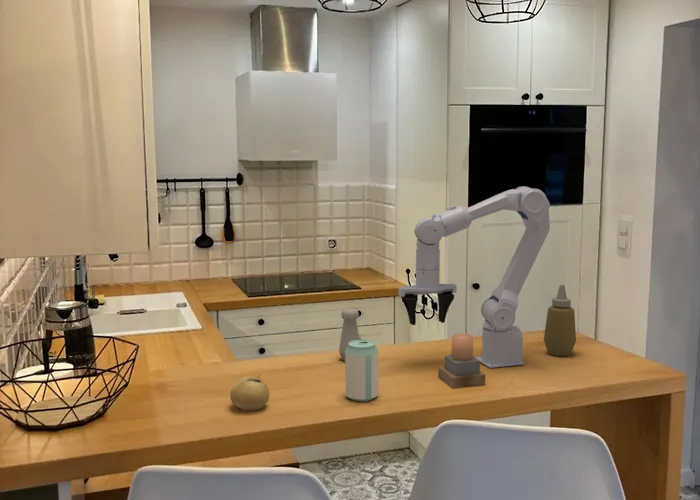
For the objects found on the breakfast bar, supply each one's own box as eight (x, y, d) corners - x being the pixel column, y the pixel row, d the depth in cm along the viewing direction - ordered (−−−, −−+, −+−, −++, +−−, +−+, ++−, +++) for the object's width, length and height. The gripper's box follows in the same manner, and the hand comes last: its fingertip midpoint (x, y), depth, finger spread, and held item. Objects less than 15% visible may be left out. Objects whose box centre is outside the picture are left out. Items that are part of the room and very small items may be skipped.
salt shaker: (362, 356, 183) (362, 306, 181) (361, 363, 177) (360, 312, 175) (340, 355, 183) (339, 306, 181) (337, 362, 178) (337, 311, 176)
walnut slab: (469, 376, 169) (469, 363, 168) (485, 387, 161) (485, 374, 161) (438, 379, 167) (438, 367, 166) (452, 390, 159) (452, 377, 159)
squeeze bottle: (579, 351, 186) (582, 284, 183) (570, 360, 179) (573, 289, 176) (548, 347, 190) (550, 280, 187) (539, 355, 183) (541, 286, 180)
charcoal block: (468, 365, 167) (468, 353, 167) (479, 373, 161) (480, 360, 161) (444, 368, 165) (444, 355, 165) (455, 376, 160) (455, 363, 159)
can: (341, 393, 156) (340, 340, 154) (370, 389, 159) (370, 337, 157) (352, 404, 150) (352, 349, 148) (383, 400, 152) (383, 345, 150)
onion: (233, 416, 144) (232, 382, 143) (228, 402, 151) (227, 370, 150) (272, 412, 146) (272, 378, 145) (266, 398, 154) (265, 367, 152)
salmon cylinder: (464, 353, 166) (465, 332, 166) (476, 359, 162) (477, 338, 161) (447, 356, 164) (447, 335, 164) (459, 362, 160) (459, 340, 159)
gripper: (448, 264, 179) (447, 316, 181) (393, 267, 175) (393, 321, 177) (460, 268, 172) (459, 323, 174) (404, 272, 168) (403, 328, 170)
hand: (427, 322), depth 175 cm, fingers open, 7 cm apart
